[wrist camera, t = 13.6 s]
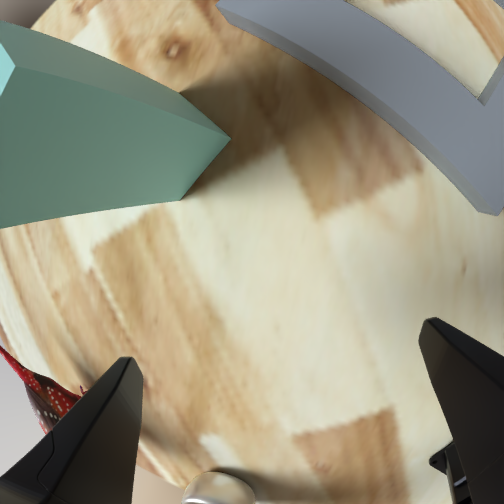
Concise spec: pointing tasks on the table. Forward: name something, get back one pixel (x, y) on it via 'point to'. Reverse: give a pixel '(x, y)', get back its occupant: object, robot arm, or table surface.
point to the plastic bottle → (218, 490)
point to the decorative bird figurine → (44, 394)
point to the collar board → (393, 85)
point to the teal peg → (90, 133)
